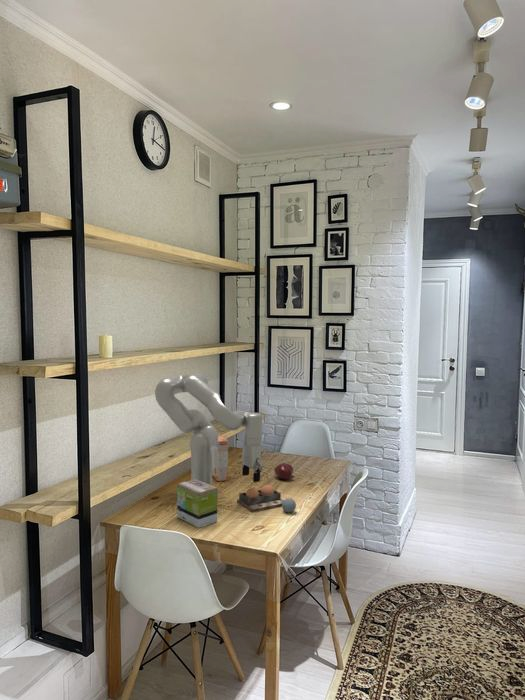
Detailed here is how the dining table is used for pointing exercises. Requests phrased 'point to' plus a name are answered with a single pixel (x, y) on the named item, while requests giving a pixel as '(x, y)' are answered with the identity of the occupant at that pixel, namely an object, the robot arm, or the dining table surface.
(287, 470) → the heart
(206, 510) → the tea box
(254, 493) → the terracotta ball
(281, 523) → the dining table surface
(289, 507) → the slate ball
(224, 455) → the cracker box
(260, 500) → the grey divided tray
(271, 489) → the seated terracotta ball
